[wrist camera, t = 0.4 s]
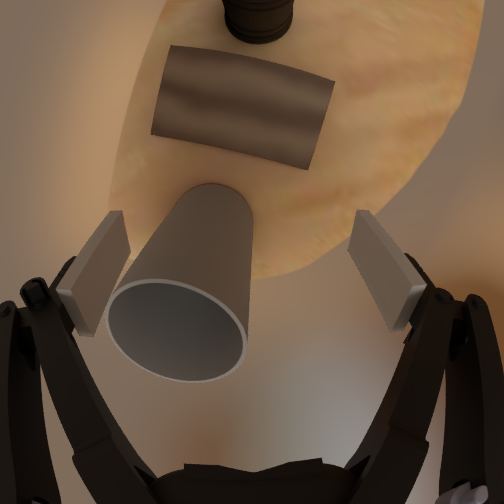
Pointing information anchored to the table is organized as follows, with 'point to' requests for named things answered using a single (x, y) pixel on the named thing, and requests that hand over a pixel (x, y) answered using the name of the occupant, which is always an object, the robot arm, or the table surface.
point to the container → (258, 19)
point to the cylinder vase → (189, 290)
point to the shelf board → (241, 104)
